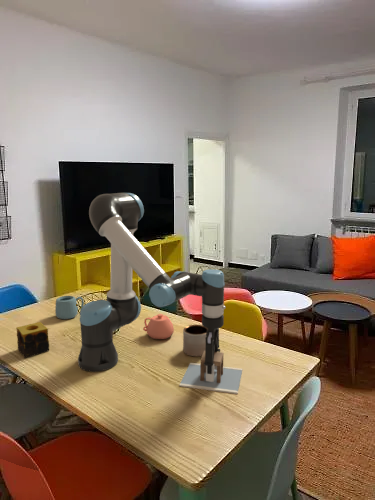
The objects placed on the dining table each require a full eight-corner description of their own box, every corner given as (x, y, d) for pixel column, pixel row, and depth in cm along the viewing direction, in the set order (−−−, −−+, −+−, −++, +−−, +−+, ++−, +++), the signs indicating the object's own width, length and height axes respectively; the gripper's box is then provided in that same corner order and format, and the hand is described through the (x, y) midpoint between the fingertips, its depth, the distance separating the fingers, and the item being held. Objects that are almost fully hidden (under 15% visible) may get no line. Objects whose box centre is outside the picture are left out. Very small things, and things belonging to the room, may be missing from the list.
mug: (79, 309, 204) (78, 291, 202) (88, 315, 196) (87, 296, 194) (52, 316, 195) (51, 297, 193) (60, 322, 186) (59, 303, 184)
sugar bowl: (170, 342, 163) (170, 320, 162) (139, 340, 166) (139, 318, 164) (176, 331, 175) (176, 310, 173) (147, 329, 178) (146, 308, 176)
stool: (200, 380, 132) (200, 359, 131) (204, 370, 139) (204, 350, 137) (220, 383, 131) (220, 361, 129) (223, 373, 137) (223, 352, 136)
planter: (207, 358, 149) (207, 336, 147) (180, 356, 151) (180, 333, 149) (211, 346, 159) (211, 325, 158) (186, 344, 162) (186, 323, 160)
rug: (179, 386, 130) (179, 384, 130) (190, 363, 145) (190, 362, 145) (237, 393, 125) (237, 392, 125) (242, 370, 140) (242, 368, 140)
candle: (24, 358, 150) (22, 335, 148) (17, 349, 157) (14, 327, 155) (50, 351, 156) (48, 328, 154) (41, 343, 164) (40, 321, 162)
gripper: (218, 326, 119) (217, 392, 124) (227, 305, 139) (226, 362, 144) (195, 324, 121) (195, 389, 126) (207, 303, 141) (207, 360, 145)
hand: (212, 374), depth 135 cm, fingers open, 8 cm apart
